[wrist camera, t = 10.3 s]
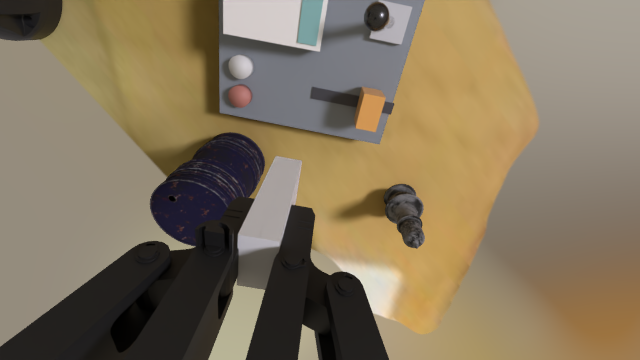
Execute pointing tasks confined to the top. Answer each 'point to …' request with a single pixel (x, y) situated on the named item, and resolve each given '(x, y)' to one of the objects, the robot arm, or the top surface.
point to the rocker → (277, 21)
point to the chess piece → (405, 213)
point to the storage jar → (207, 185)
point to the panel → (319, 71)
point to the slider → (369, 109)
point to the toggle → (378, 17)
